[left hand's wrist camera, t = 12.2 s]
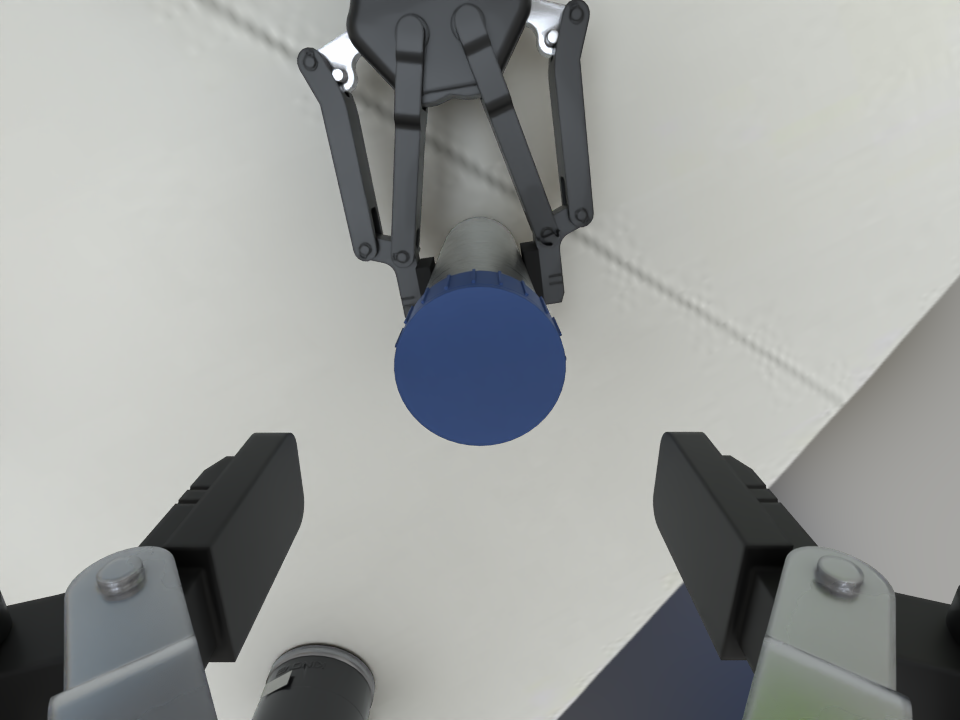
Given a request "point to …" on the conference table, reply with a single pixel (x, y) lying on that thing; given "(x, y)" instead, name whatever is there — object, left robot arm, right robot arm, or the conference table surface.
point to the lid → (479, 359)
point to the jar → (480, 251)
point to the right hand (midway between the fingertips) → (494, 365)
